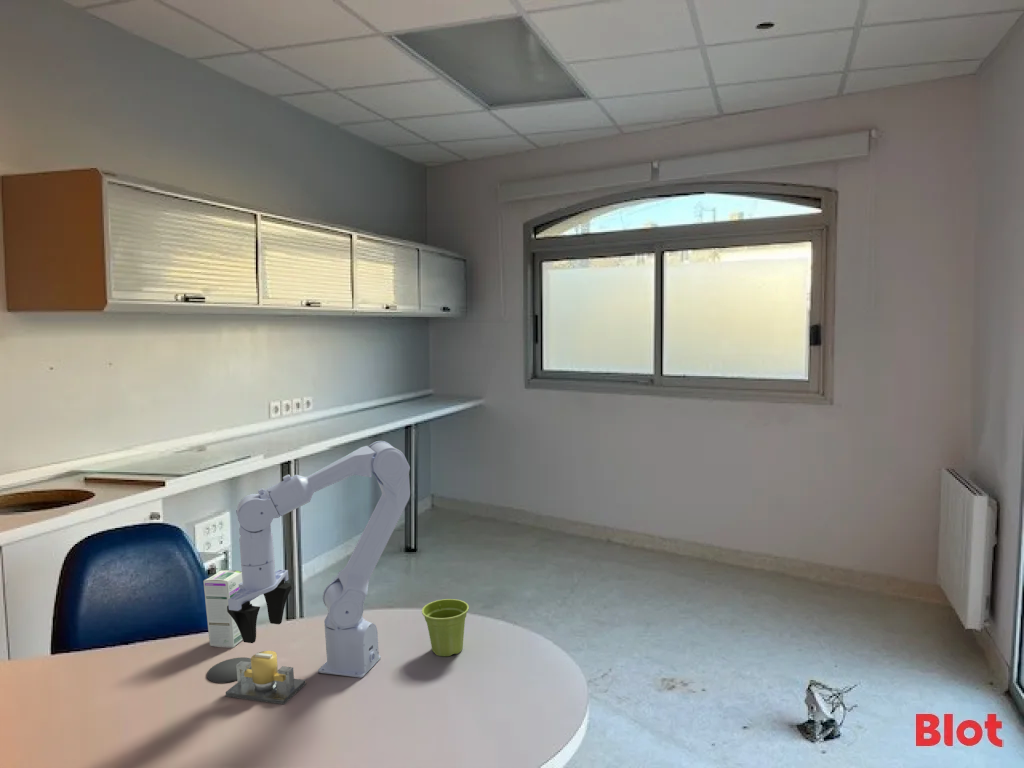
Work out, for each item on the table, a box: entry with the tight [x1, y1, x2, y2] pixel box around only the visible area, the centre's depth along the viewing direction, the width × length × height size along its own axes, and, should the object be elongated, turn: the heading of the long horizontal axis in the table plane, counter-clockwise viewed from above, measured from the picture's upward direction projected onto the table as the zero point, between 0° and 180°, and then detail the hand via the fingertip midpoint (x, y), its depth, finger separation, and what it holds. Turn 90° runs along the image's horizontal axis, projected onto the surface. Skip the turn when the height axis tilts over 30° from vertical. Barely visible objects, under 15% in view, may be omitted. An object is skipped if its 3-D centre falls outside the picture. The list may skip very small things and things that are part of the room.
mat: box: [206, 656, 252, 684], centre depth 133 cm, size 9×9×1 cm
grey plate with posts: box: [225, 661, 307, 705], centre depth 125 cm, size 12×7×5 cm, turn 74°
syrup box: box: [202, 569, 243, 649], centre depth 144 cm, size 6×6×14 cm
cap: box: [244, 650, 286, 684], centre depth 124 cm, size 8×4×4 cm, turn 74°
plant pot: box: [421, 598, 470, 657], centre depth 137 cm, size 9×9×9 cm
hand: (263, 632), depth 126 cm, fingers open, 7 cm apart
